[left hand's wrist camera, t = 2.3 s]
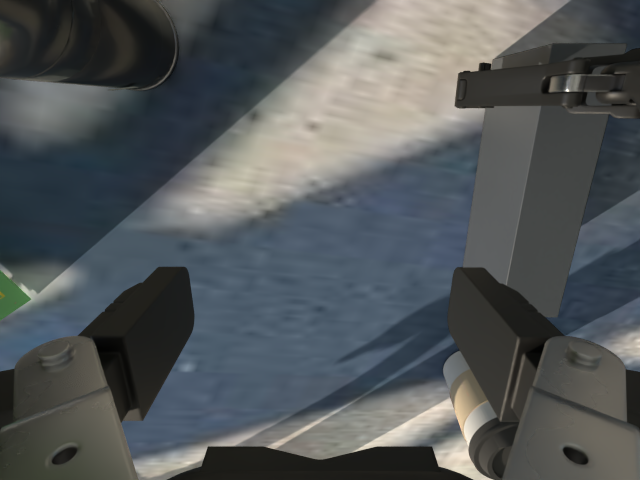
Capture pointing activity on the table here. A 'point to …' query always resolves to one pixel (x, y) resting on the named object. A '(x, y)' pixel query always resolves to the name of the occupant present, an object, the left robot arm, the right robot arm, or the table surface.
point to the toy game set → (10, 296)
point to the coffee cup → (478, 420)
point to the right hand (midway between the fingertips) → (531, 93)
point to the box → (535, 184)
